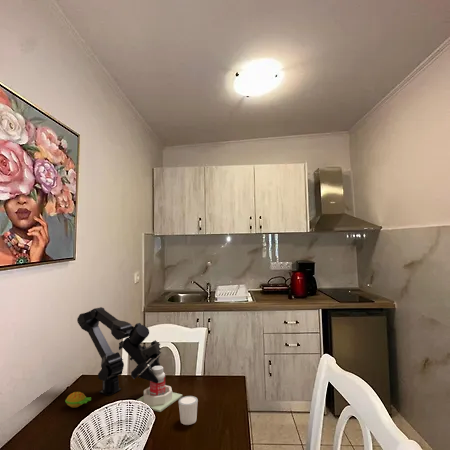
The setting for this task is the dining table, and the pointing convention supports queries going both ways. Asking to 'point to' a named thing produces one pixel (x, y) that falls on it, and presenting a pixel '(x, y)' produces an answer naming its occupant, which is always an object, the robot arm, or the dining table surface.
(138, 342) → the robot arm
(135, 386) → the dining table surface
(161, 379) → the pill bottle
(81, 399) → the toy pineapple
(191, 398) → the shot glass
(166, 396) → the octagonal tray
